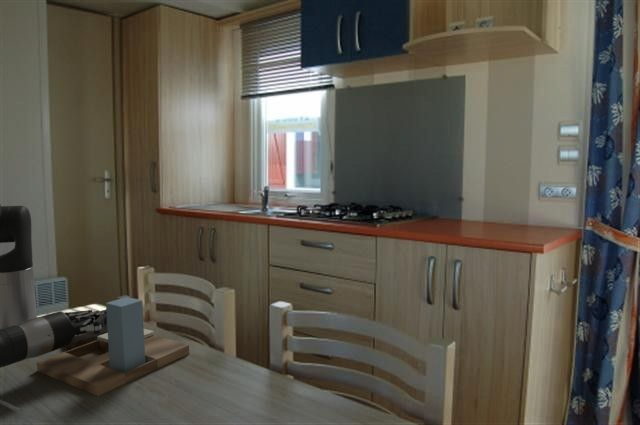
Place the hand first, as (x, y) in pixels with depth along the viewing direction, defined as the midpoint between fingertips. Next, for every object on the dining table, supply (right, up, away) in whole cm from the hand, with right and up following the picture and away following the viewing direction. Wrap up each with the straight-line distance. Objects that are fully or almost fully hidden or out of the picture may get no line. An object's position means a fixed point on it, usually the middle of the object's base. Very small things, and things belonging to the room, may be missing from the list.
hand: (116, 311), depth 113 cm
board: (+3, -10, -6) cm, 12 cm away
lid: (+1, -7, +3) cm, 7 cm away
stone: (-8, -9, +10) cm, 16 cm away
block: (+7, -10, -11) cm, 16 cm away
